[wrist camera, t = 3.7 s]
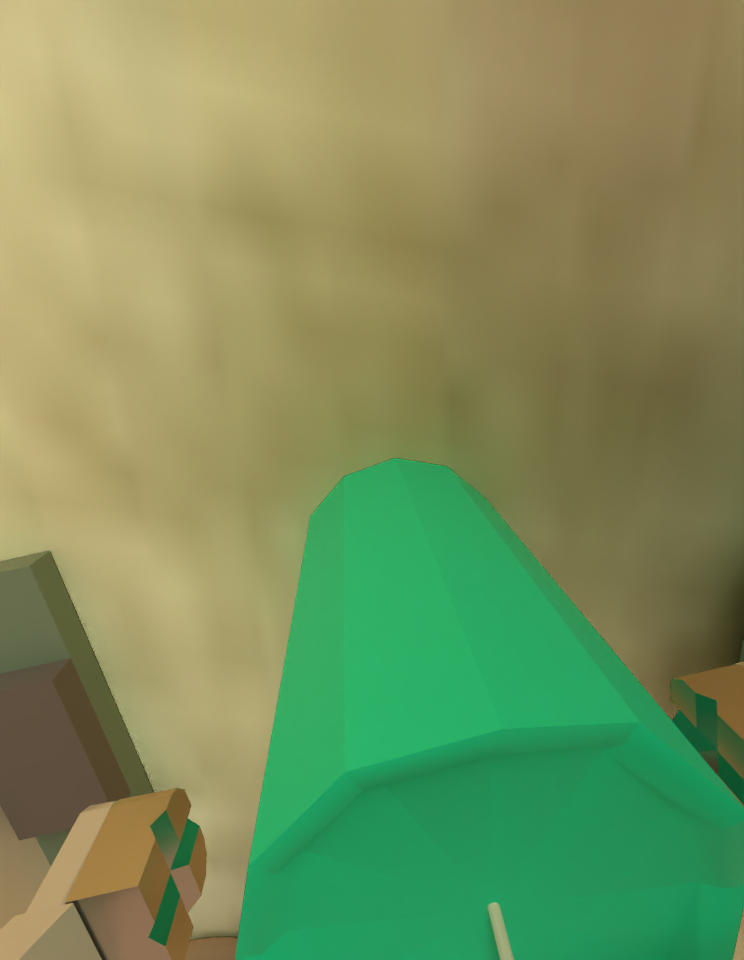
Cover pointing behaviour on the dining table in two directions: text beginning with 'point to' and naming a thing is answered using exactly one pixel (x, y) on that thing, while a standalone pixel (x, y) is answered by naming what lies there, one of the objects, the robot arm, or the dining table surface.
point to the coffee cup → (212, 949)
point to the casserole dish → (742, 652)
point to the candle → (472, 759)
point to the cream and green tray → (51, 729)
